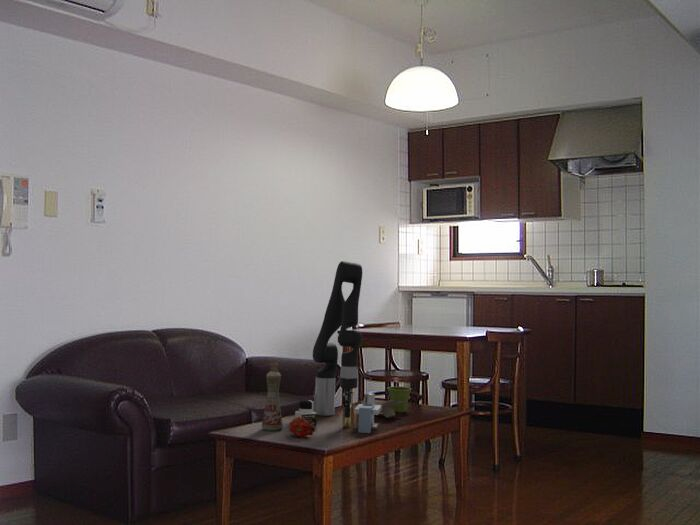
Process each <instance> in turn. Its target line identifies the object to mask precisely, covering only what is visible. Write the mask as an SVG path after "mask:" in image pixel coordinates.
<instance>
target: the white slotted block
mask: <svg viewBox="0 0 700 525" xmlns="http://www.w3.org/2000/svg"><path fill="white" fill-rule="evenodd" d="M402 402H404V401H399V402H395V401H391V400H390V399H389V400H387V401H385V402H382V403H381V404H379V405H382V410H381V411H380V413H379V414H381V413H382V415H383V416H384V417H385V418H387V419H389V418H390V419H391V418H393V417H394V416H396V412H394V409H393V406H395V405H397V404H399V403H402Z"/></svg>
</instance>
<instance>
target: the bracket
mask: <svg viewBox="0 0 700 525" xmlns="http://www.w3.org/2000/svg"><path fill="white" fill-rule="evenodd" d="M361 404H362V405H361V406H360V407H359V414H358V433H363V434H371V433H372V428H371V411H372V409H373V408H374V404H364V403H361Z"/></svg>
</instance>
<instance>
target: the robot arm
mask: <svg viewBox="0 0 700 525" xmlns="http://www.w3.org/2000/svg"><path fill="white" fill-rule="evenodd" d="M362 279H363V267H362V265H361V264H360V263H358V262H357V263H356V262H352V261H351V262H350V261H346V260H345V261H344V260H343V261H340V262H339V263H338V265H337V268H336V272H335V275H334V281H333V285H332V291H331V293H330V297H329V300H328V303H327V305H326V309H325V313H324V317H323V321H322V324H321V328H320V330H319V332H318V335H317V337H316V340H315V342H314V346H313V349H312V359H313V361H314V362H315V363H319V364H325V365H324V366H323V367H322V368H319V369H318V370H316V371H315V390H314V391H315V393H314V396H313V402H314V404H313V412H315V413H317V416H323V417H324V416H327V417H328V416H334V415H335V409H336V408H335V402H336V401H335V400H336V396H335V395H336V375H337V374H336V373H337V370H338V360H339V350H338V346H337V345H336V343H334V342H329V341H330V339H331V337H332V336H333V335H334V334H335V333H336V332H337V331H338V329H339V332H338V336H337V342H338V345H339V346H341V347H348V348H349V347H350V348H351V347H353V349H352V350H350V351H345V352H342V353H341V356H340V357H341V361H340V364H341V365H340V371H339V372H340V373H339V374H340V376H339V377H340V378H339V379H340V380H339V387H340V388H342V389H344V392H343V396H342V398H343V409H344V418H345V417H346V418H349V417H350V408H351V409H352V408H353V403H354V402H353V401H354V393H355V392H354V391H353V389H357V388H358V383H359V382H358V380H359V378H358V375H359V371H358V363H359V362H358V358H359V352H360V348H361V345H362V342H363V334H362V332H361V331H360V330H352V329H351V330H350V329H349V328H354V327H357V325H358V323H359V301H360V295H361V289H362V288H361V287H362ZM343 283H347V284H348V283H349V284H353V285H352V290H351V292H350V294H349V295H348V296H347V298H346V299H345V297H344V294H343V288H342V287H343ZM346 404H348V405H346ZM350 405H351V407H350Z"/></svg>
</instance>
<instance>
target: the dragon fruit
mask: <svg viewBox="0 0 700 525" xmlns="http://www.w3.org/2000/svg"><path fill="white" fill-rule="evenodd" d="M287 430H288V431H289V432H290V433H292V435H293V437H300V438H302V439H307V438H309V437H308V436H313V434H314V432H315V431H316V430H315V428H314V426H313V425H312V423H311V422H310V421H308V420H306V419H305V418H303V417H302V418H299V417H297V418H295V417H294V418H293V419H292V420H291V421H290V422H289V426H288V428H287Z"/></svg>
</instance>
